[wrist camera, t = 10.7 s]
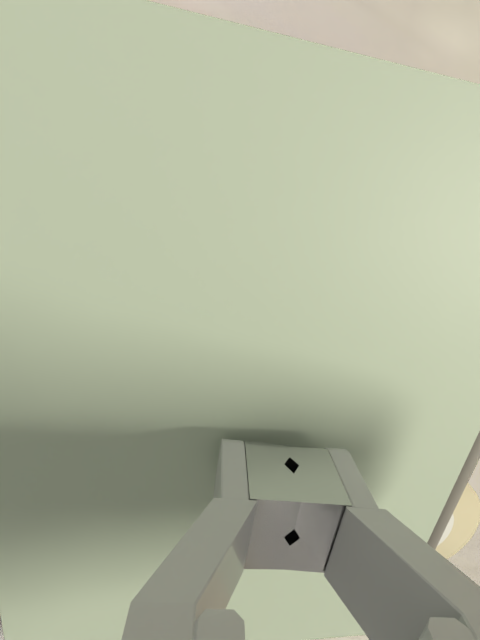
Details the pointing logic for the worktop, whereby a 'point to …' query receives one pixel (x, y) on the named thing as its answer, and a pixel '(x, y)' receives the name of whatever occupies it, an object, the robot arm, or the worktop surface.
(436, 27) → the worktop surface
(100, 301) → the lid
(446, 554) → the cream flat dome
